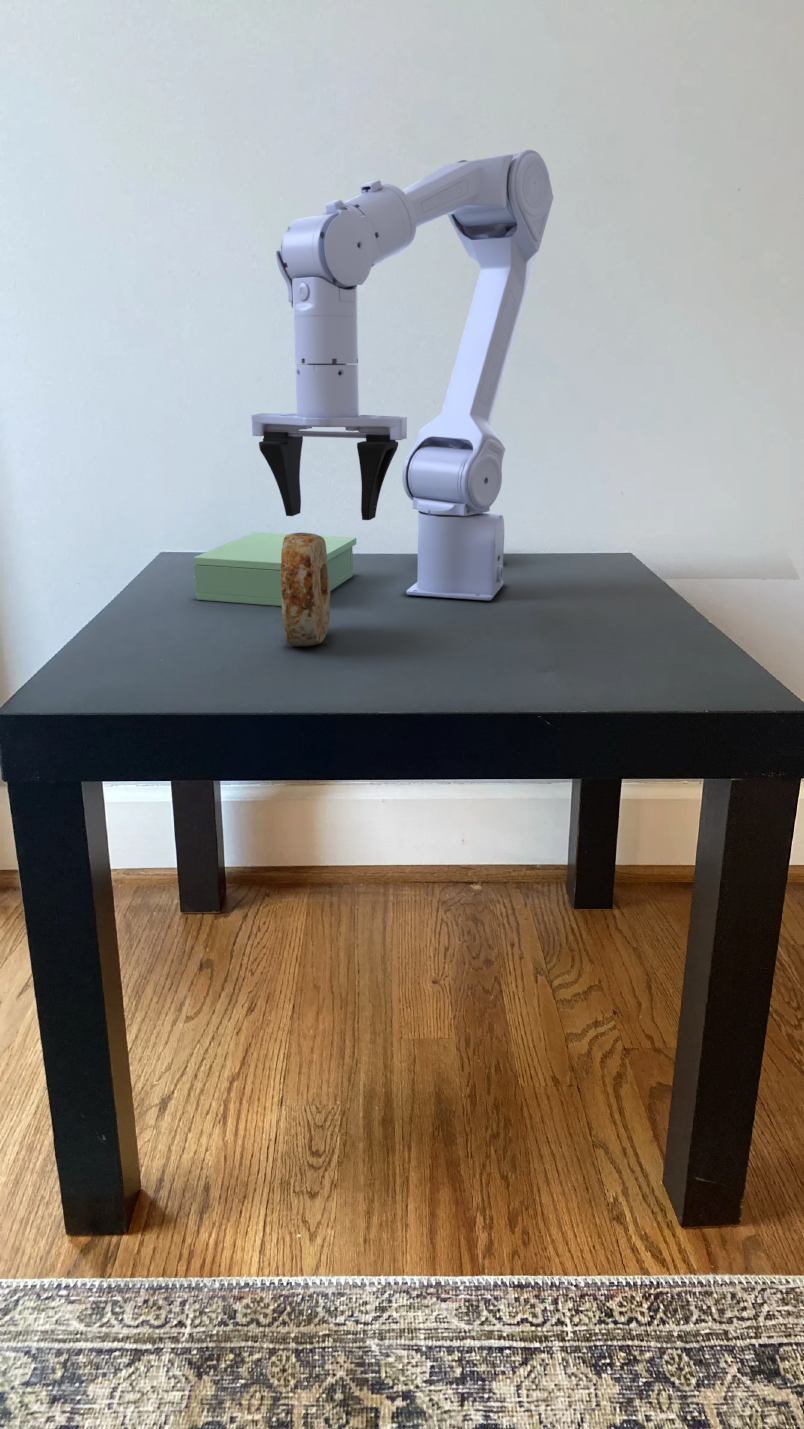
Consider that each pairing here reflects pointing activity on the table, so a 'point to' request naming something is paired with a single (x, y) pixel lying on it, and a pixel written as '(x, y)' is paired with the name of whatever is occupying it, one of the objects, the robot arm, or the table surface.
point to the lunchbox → (258, 581)
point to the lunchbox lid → (263, 551)
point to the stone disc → (305, 589)
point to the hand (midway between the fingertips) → (330, 516)
